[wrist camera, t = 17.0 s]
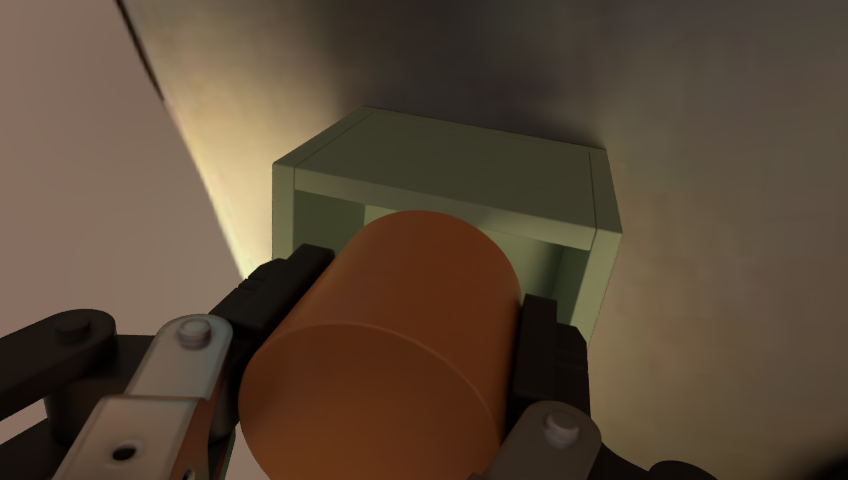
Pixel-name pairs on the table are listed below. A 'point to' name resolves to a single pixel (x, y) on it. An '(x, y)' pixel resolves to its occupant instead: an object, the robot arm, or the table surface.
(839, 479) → the coffee jar
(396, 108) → the table surface
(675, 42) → the table surface
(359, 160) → the pale green hollow box
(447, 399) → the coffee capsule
